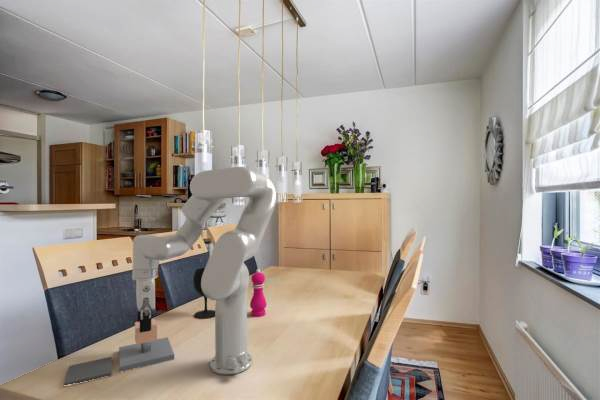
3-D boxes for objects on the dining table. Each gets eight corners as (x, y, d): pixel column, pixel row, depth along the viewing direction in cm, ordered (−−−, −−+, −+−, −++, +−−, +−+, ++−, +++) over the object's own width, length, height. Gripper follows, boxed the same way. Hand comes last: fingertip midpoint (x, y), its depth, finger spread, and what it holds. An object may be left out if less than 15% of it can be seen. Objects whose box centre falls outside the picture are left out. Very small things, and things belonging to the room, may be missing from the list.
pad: (111, 375, 90) (111, 372, 90) (63, 387, 84) (63, 383, 84) (111, 359, 99) (111, 356, 99) (69, 369, 94) (69, 365, 94)
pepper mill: (263, 317, 135) (263, 271, 135) (247, 316, 136) (247, 270, 136) (268, 312, 142) (268, 267, 142) (253, 311, 143) (253, 267, 143)
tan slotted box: (157, 340, 101) (157, 324, 101) (136, 344, 98) (136, 328, 98) (155, 333, 106) (155, 318, 106) (135, 337, 103) (135, 322, 103)
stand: (174, 359, 99) (174, 354, 99) (119, 372, 92) (119, 367, 92) (167, 341, 112) (167, 337, 112) (119, 351, 104) (119, 347, 105)
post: (151, 351, 101) (151, 326, 101) (141, 353, 100) (141, 328, 100) (150, 347, 104) (150, 323, 104) (140, 349, 102) (140, 325, 102)
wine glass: (209, 309, 146) (208, 266, 147) (222, 314, 140) (222, 269, 140) (188, 315, 138) (188, 270, 139) (202, 320, 132) (202, 273, 132)
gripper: (161, 277, 97) (159, 333, 97) (155, 267, 112) (153, 315, 111) (133, 280, 93) (132, 338, 93) (131, 269, 108) (129, 319, 108)
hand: (144, 325), depth 102 cm, fingers open, 9 cm apart
